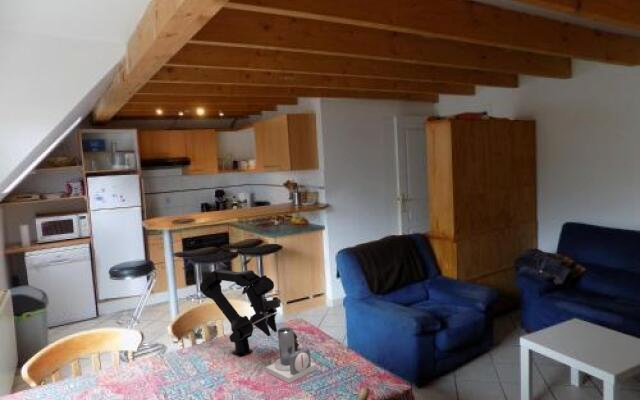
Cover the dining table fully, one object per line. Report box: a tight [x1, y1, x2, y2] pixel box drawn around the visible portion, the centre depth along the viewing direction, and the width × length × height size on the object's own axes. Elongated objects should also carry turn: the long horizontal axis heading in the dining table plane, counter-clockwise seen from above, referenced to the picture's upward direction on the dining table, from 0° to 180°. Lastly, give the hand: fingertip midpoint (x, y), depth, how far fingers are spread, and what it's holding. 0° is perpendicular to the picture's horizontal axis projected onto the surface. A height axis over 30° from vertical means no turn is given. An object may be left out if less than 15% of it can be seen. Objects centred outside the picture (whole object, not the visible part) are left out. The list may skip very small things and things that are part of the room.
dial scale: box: [265, 347, 317, 384], centre depth 168 cm, size 14×14×9 cm
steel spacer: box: [277, 326, 296, 366], centre depth 169 cm, size 6×6×13 cm
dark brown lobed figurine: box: [293, 331, 299, 352], centre depth 193 cm, size 6×5×15 cm
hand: (272, 333), depth 176 cm, fingers open, 9 cm apart
